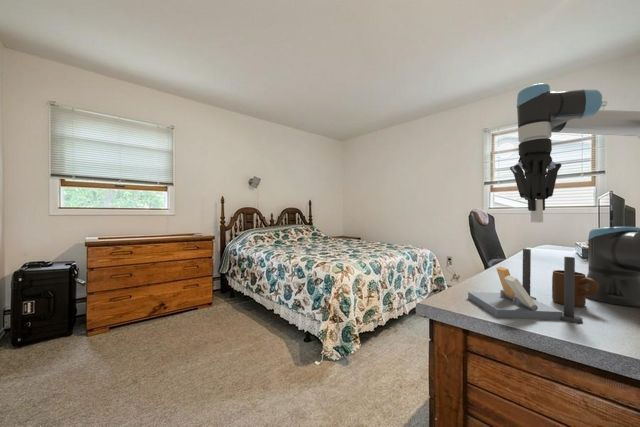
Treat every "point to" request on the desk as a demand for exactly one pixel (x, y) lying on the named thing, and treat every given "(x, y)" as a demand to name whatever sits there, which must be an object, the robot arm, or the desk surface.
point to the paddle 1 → (507, 289)
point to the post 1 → (527, 270)
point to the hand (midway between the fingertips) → (536, 222)
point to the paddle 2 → (521, 293)
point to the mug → (579, 288)
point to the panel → (512, 306)
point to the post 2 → (569, 291)
